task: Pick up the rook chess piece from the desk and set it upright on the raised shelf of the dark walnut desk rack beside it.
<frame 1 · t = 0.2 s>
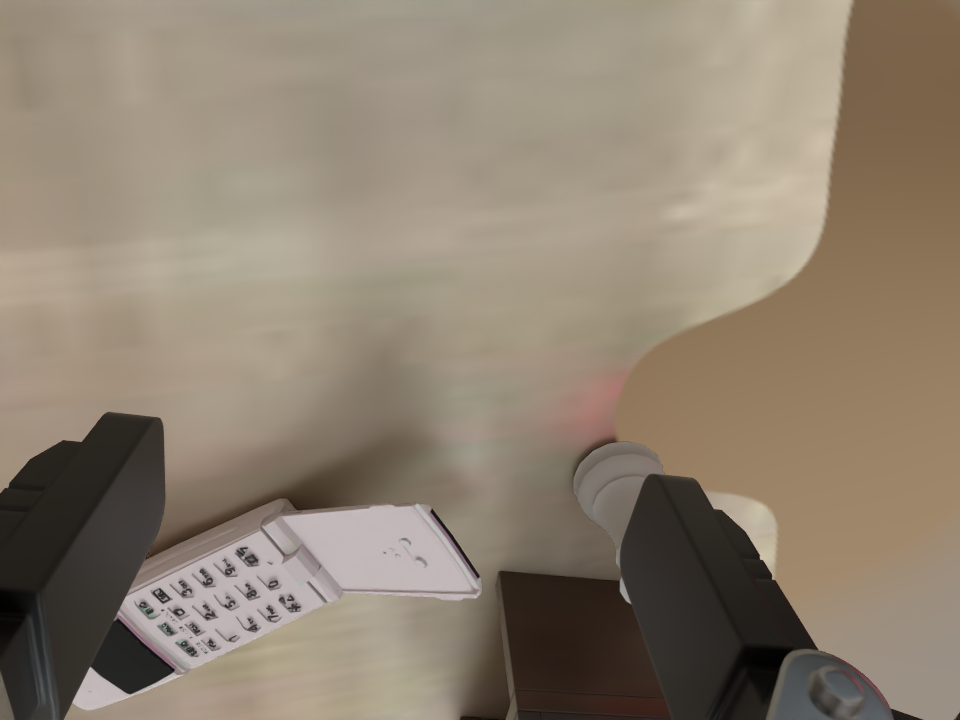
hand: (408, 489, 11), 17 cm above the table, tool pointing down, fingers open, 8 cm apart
rook chess piece: (614, 471, 33), on the table
rack: (560, 660, 39), on the table
mobile phone: (235, 560, 34), on the table
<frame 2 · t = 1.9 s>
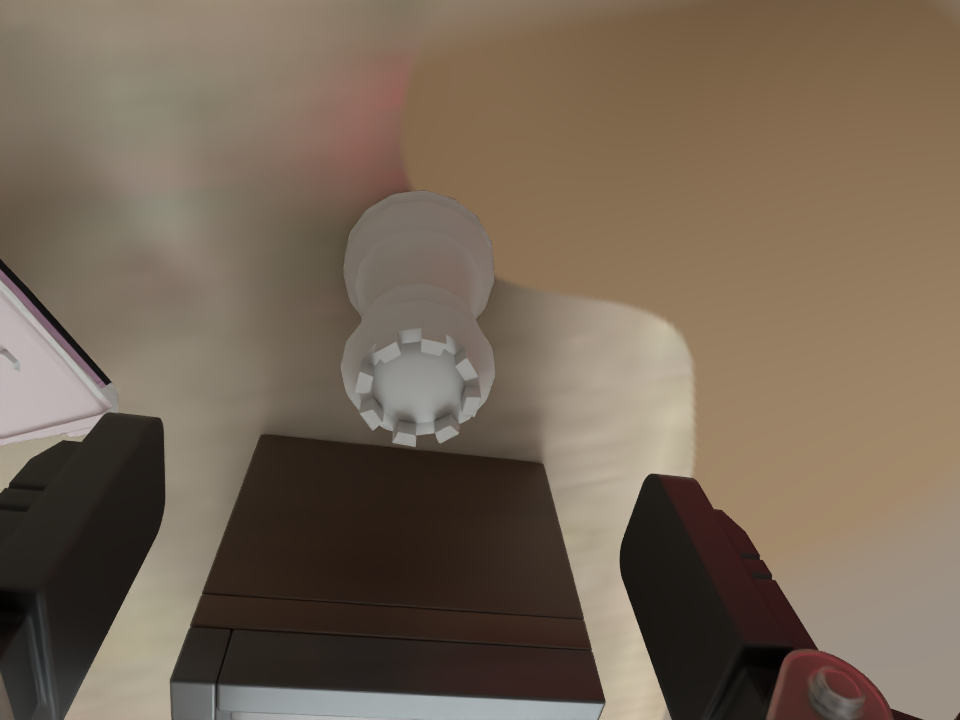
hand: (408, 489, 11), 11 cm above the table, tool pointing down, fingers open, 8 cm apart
rook chess piece: (419, 257, 21), on the table
rack: (385, 582, 27), on the table
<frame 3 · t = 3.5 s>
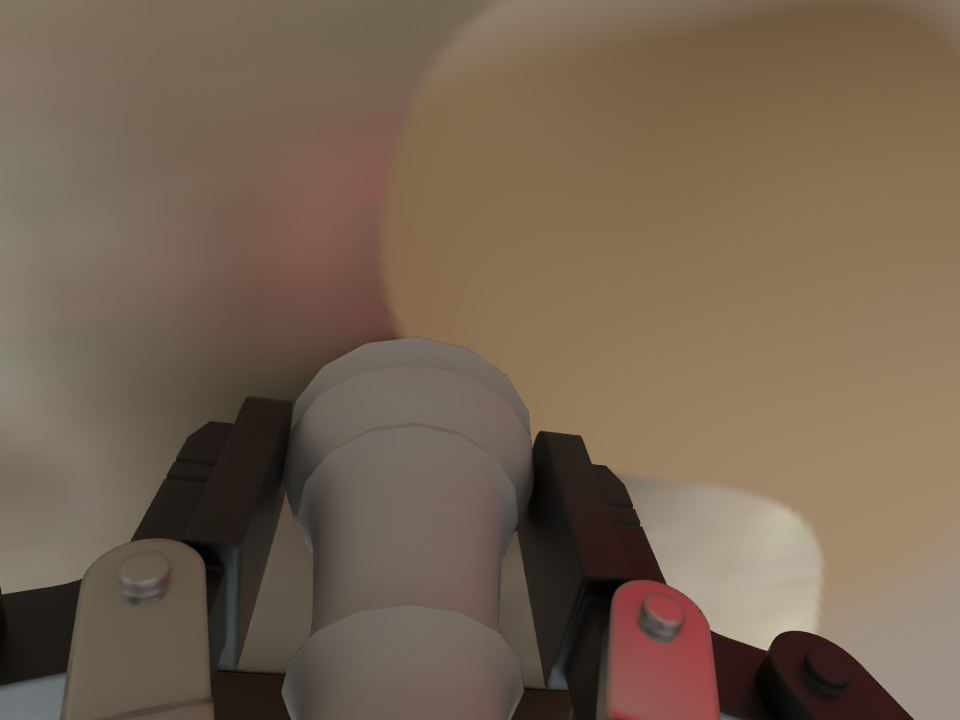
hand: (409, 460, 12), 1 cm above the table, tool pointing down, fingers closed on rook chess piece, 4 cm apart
rook chess piece: (412, 426, 13), on the table, touching gripper
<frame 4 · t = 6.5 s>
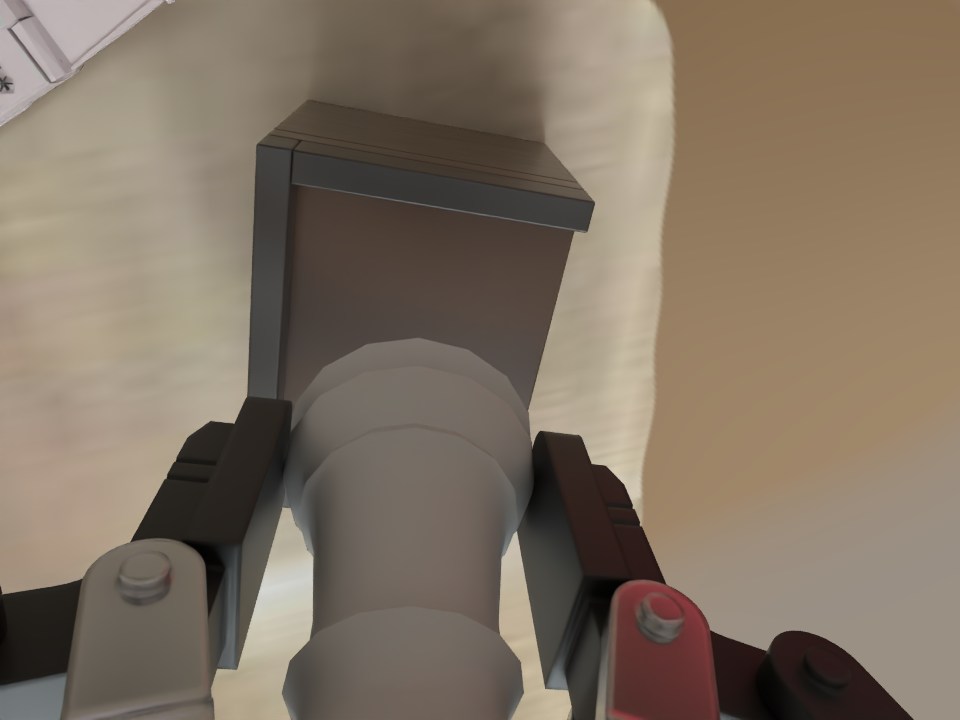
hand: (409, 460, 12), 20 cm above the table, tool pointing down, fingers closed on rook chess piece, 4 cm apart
rook chess piece: (412, 427, 13), point 19 cm above the table, touching gripper
rack: (408, 268, 31), on the table
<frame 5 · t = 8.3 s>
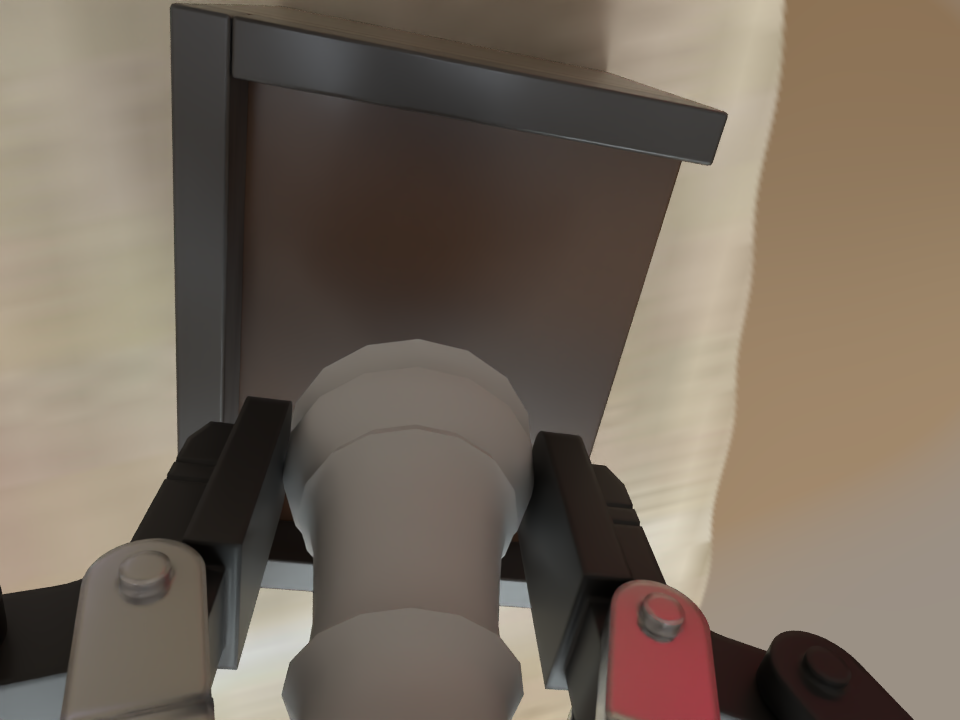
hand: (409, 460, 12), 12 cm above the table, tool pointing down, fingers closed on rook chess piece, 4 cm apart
rook chess piece: (412, 428, 13), point 11 cm above the table, touching gripper
rack: (418, 246, 23), on the table
when the fingers open (9 cm above the table, at t = 9.7 s): rook chess piece stays where it is, resting on rack.
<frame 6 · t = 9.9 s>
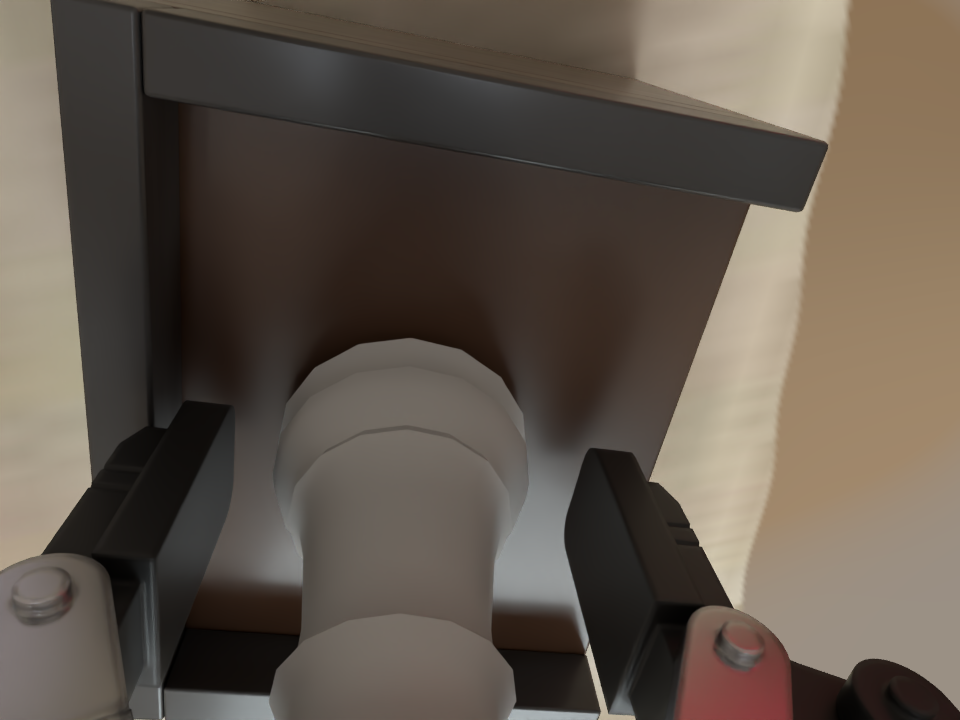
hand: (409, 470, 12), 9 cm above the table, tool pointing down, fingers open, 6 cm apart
rook chess piece: (405, 428, 13), point 8 cm above the table, touching rack
rack: (412, 282, 20), on the table
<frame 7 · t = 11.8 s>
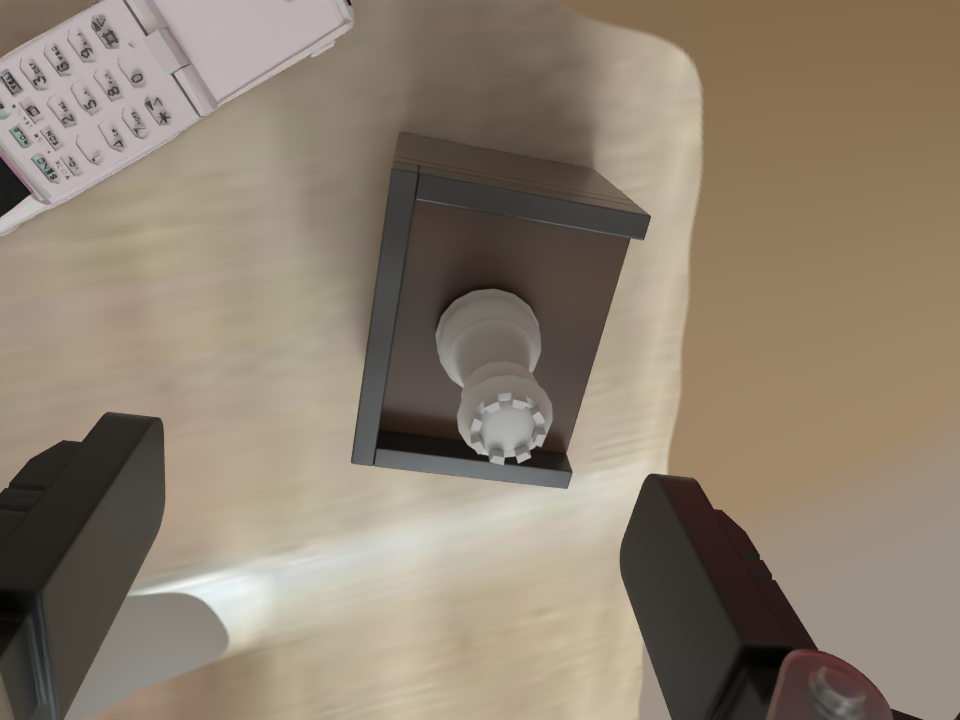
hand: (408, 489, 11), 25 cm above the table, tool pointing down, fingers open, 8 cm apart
rook chess piece: (486, 331, 29), point 8 cm above the table, touching rack
rack: (474, 273, 36), on the table
mobile phone: (106, 97, 31), on the table
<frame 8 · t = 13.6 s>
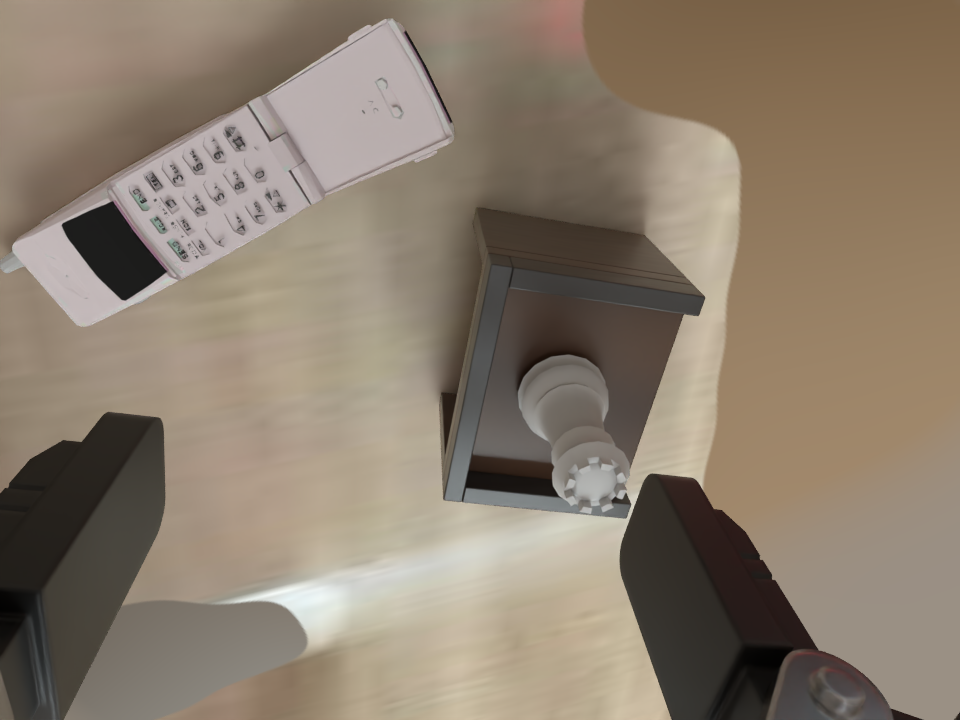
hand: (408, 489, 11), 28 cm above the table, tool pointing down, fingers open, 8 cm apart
rook chess piece: (559, 387, 34), point 8 cm above the table, touching rack
rack: (536, 324, 41), on the table
mobile phone: (224, 183, 36), on the table
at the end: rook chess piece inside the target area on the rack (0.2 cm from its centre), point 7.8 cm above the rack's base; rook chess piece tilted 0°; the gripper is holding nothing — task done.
